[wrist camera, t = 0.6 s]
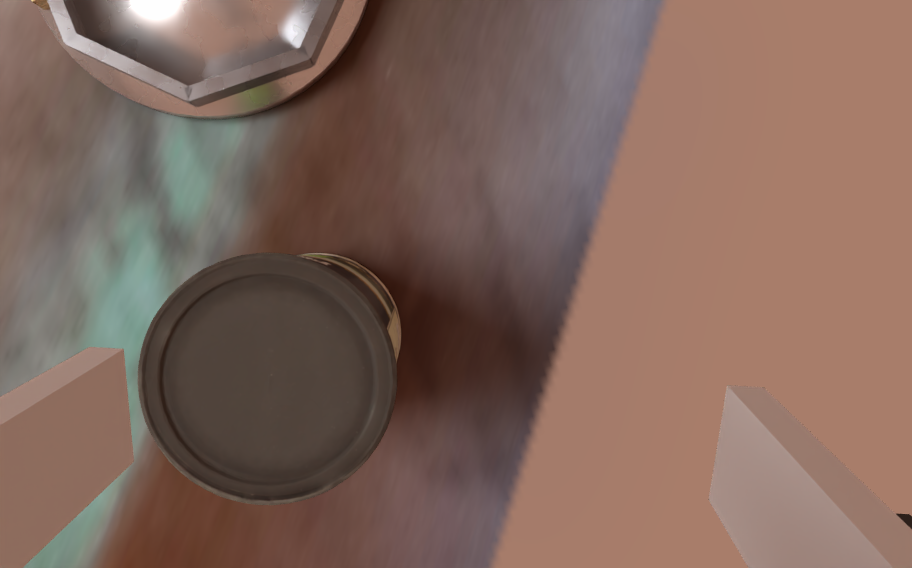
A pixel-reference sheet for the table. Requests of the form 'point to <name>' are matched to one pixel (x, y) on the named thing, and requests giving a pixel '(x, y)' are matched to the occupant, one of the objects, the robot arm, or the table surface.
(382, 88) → the table surface
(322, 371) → the coffee can
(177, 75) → the locking base
